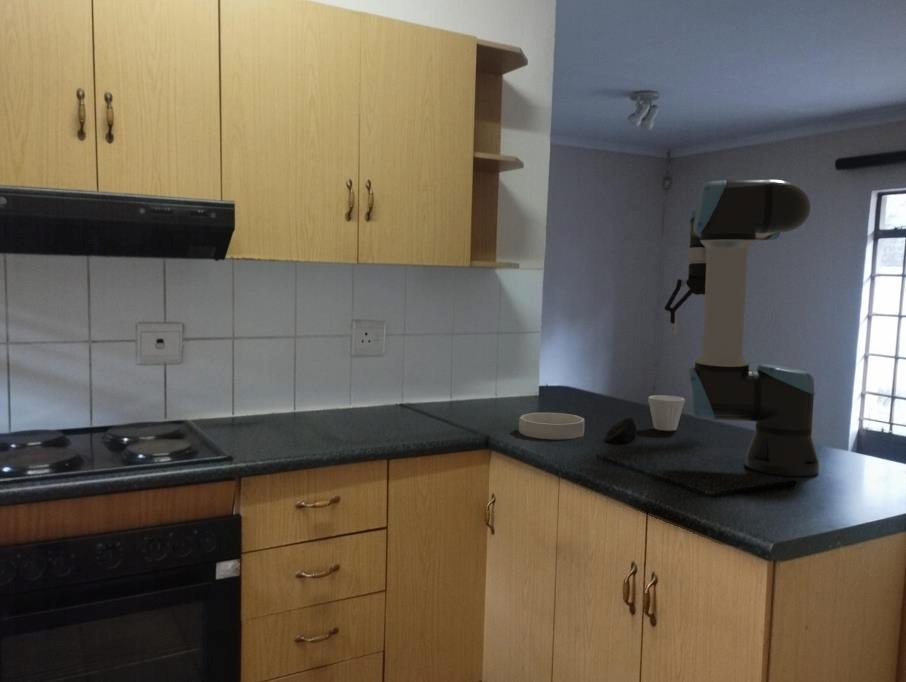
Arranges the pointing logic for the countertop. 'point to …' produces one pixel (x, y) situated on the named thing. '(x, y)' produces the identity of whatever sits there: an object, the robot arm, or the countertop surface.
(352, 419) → the countertop surface
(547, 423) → the bowl
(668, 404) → the cup
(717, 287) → the robot arm
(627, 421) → the rock
